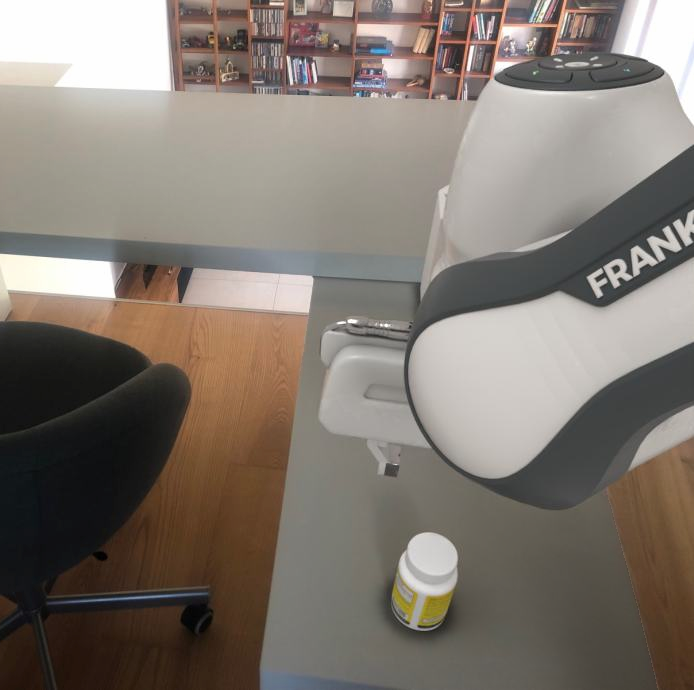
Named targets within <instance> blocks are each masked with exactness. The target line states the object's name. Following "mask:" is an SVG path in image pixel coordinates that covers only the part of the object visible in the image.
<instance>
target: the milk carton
mask: <svg viewBox="0 0 694 690" xmlns="http://www.w3.org/2000/svg"><path fill="white" fill-rule="evenodd" d="M448 189H449V184H446V185H445V186H444V187H442V188H441V189H439V190H438V193H437V196H436V202H435V206H434V207H435V209H434V213H433V218H432V224H431V229H430V234H429V239H428V244H427V251H426V255H425V260H424V267H423V271H422V277H421V282H420V286H419V287H420V288H419V290H420V301H421V300H422V298H423V296H424V294H425V292H426V290H427V288H428V286H429V282H430V277H431V274H432V272H433V269H434V267H435V265H436V264H437V262H438V260H439V259H440V257H441V255H442V253H443V249H444V233H443V213H444V208H445V203H446V198H447V193H448Z"/></svg>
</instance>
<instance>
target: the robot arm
mask: <svg viewBox="0 0 694 690" xmlns="http://www.w3.org/2000/svg"><path fill="white" fill-rule="evenodd" d="M681 103H682V102H681V101H680V98H679V95H678V92H677V89H676V86H675V84H674V81H673V79H672V77H671V75H670V74H669V73H668V72H667V71H666V70H665V69H664V68H662V67H661V66H660V65H658V64H655V63H653V62H650V61H649V60H648V59H646V58H644V57H640V56H634V55H630V54H624V53H617V52H600V51H582V52H576V53H574V52H573V53H564V52H563V53H556V54H551V55H545V56H541V57H537V58H532V59H529V60H526V61H522V62H518V63H515V64H512V65H510V66H507V67H505V68H503V70H501V71H500V72H498V73H496V74H495V75H493V76H491V78H490V79H489V80H488V82H487V83H486V84H485V85H484V88H483V89H482V90H481V92H480V93H479V95H478V97H477V99H476V101H475V103H474V105H473V107H472V110H471V112H470V114H469V117H468V119H467V122H466V124H465V128H464V131H463V134H462V136H461V139H460V142H459V146H458V149H457V153H456V156H455V160H454V164H453V168H452V172H451V176H450V180H449V184H448V185H449V189H448V193H447V198H446V203H445V208H444V213H443V233H444V249H443V253H442V255H441V257H440V259H439V260H438V262H437V264H436V265H435V267H434V269H433V272H432V274H431V277H430V282H429V286H428V288H427V290H426V292H425V294H424V296H423V298H422V300H421V299H420V302H419V305H418V307H417V310H416V312H415V315H414V318H413V321H406V320H405V321H404V320H394V319H390V320H389V319H381V320H380V319H375V318H369V317H367V316H364V315H363V316H362V315H349V316H347V317H346V320H338V321H335V322H332V323H330V324H328V325H327V326H326V327H325V328H324V329H323V330H322V332H321V335H320V341H319V350H318V351H319V357H320V360H321V363H322V364H323V366H324V367H325V368H326V370H325V376H324V381H323V385H322V389H321V395H320V401H319V407H318V414H317V421H318V423H319V424H320V425H321V426H322V427H323V428H324V430H325V431H326V432H327V433H329V434H333V435H338V436H344V437H352V438H358V439H363V440H366V443H365V445H366V446H367V448H368V450H369V451H370V453H371V454H372V455H373V457H374V458H375V460H376V461H377V466H376V467H377V469H376V475H377V476H384V477H390V478H391V477H392V478H398V475H399V470H400V466H401V454H402V453H401V451H402V446H401V445H403V446H410V447H417V448H422V449H430V450H433V451H434V453H435V454H436V455H437V456H438V457H439V458H440V459H441V460H442V461H443V462H444V463H445V464H447V465H448V466H449V467H450V468H451V469H453V470H454V471H455V472H457V473H458V474H460V475H461V476H462V477H464V478H466V479H467V480H469V481H471V482H473V483H475V484H476V485H478V486H481V487H482V488H484V489H486V490H488V491H490V492H492V493H495V494H497V495H499V496H502V497H504V498H507V499H510V500H512V501H515V502H518V503H520V504H523V505H526V506H527V505H528V506H531V507H535V508H538V509H542V510H546V511H564V510H570V509H572V508H574V507H576V506H578V505H580V504H582V503H584V502H585V501H586V500H588V499H590V498H591V497H594V496H595V495H596V494H598V493H600V492H602V490H604V489H606V488H607V487H609V486H611V485H612V484H614V483H616V482H617V481H619V480H620V479H622V478H623V477H624V476H625V475H626V474H627V473H628V472H631V471H633V470H634V469H636V468H638V466H641V465H642V464H644V463H647V462H648V461H650V460H652V459H654V458H656V457H657V456H659V455H661V454H663V453H665V452H667V451H669V450H671V449H673V448H675V447H677V446H678V445H681V444H682V443H684V442H686V441H688V440H690V439H692V438H694V124H693V123H692V121H691V120H690V118H689V116H688V115H687V114H686V113H685V111H684V108H683V106H682V104H681ZM395 444H397V445H395Z"/></svg>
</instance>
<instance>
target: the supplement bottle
mask: <svg viewBox="0 0 694 690" xmlns="http://www.w3.org/2000/svg"><path fill="white" fill-rule="evenodd" d="M458 556H459V555H458V552H457V549H456V547H455V546H454V544H453V543H452V542H451V541H450V540H449V539H448V538H447V537H445V536H443V535H441V534H439V533H436V532H430V531H429V532H421V533H418V534H416V535H414V536H413V537H412V538H411V539H410V541H409V542H408V544H407V547H406V549H405V551H403V552H402V554H401V556H400V558H399V561H398V565H397V569H396V574H395V578H394V583H393V588H392V592H391V598H390V604H391V609H392V612H393V614H394V615H395V617H396V619H397V620H398V621H399V622H400V623H401V624H403V625H404V626H405V627H407V628H409V629H412V630H415V631H421V632H427V631H432V630H434V629H437V628H438V627H440V625H442V623H443V622H444V620H445V618H446V616H447V613H448V609H449V607H450V604H451V602H452V601H451V600H452V598H453V594H454V592H455V588H456V586H457V583H458V577H459V576H458V575H459V574H458V567H457V566H458V562H459V557H458Z"/></svg>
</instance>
